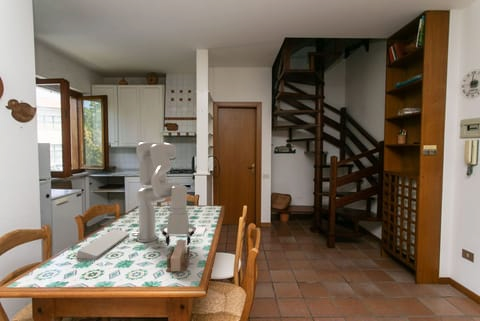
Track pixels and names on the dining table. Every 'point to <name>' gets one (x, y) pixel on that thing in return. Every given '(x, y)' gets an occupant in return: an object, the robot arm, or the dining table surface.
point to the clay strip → (178, 255)
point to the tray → (198, 229)
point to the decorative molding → (101, 244)
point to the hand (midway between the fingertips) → (178, 244)
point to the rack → (184, 263)
